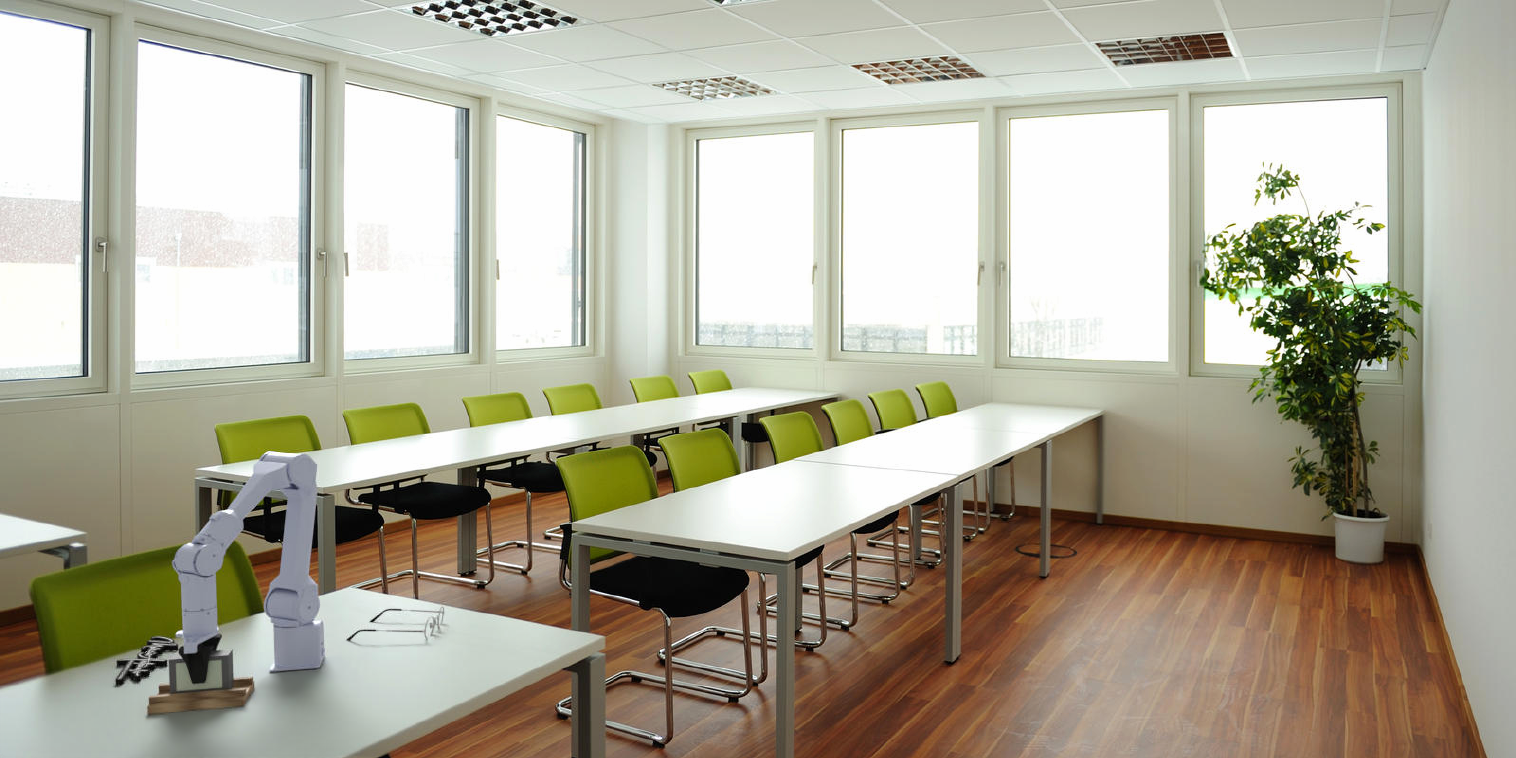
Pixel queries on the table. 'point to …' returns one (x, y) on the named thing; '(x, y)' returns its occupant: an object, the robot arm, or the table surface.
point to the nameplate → (145, 659)
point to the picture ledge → (201, 698)
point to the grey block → (217, 673)
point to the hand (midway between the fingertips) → (202, 678)
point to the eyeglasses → (408, 630)
